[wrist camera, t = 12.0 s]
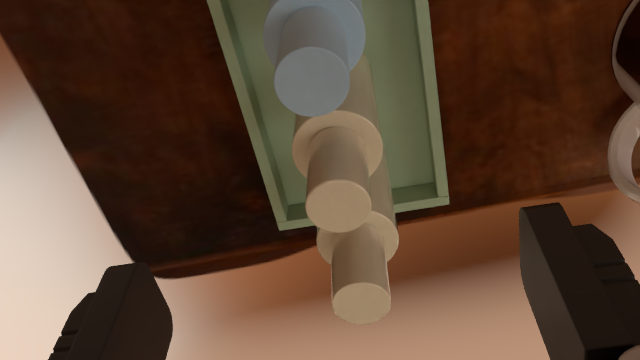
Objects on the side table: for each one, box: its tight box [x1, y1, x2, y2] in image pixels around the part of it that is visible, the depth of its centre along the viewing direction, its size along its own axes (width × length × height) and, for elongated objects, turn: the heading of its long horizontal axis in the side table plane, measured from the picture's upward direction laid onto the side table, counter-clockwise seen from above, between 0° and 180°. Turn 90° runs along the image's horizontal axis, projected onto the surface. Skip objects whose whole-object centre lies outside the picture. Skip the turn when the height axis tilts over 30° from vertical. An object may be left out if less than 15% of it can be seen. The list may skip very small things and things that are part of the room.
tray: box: [207, 0, 449, 230], centre depth 35 cm, size 19×11×2 cm, turn 12°
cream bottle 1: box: [292, 53, 383, 233], centre depth 30 cm, size 4×4×13 cm
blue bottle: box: [263, 0, 366, 117], centre depth 27 cm, size 4×4×13 cm
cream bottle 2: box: [317, 145, 399, 324], centre depth 33 cm, size 4×4×13 cm
